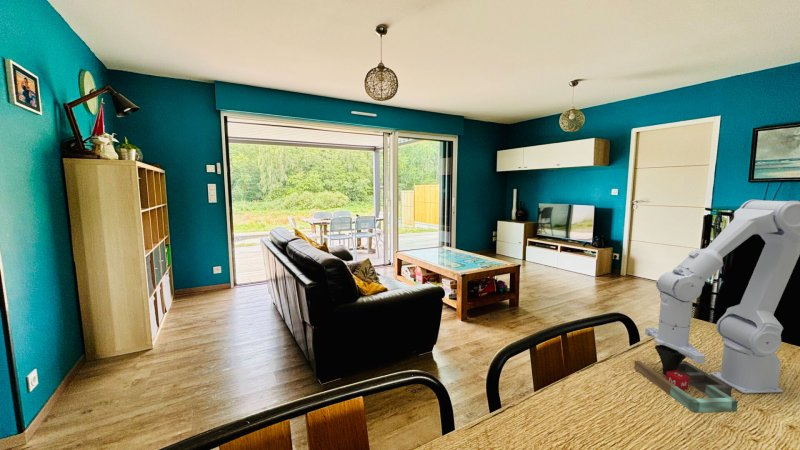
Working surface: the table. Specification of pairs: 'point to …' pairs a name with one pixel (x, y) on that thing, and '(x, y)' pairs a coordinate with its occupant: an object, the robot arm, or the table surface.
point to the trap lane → (699, 380)
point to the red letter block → (678, 379)
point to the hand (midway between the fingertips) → (669, 375)
